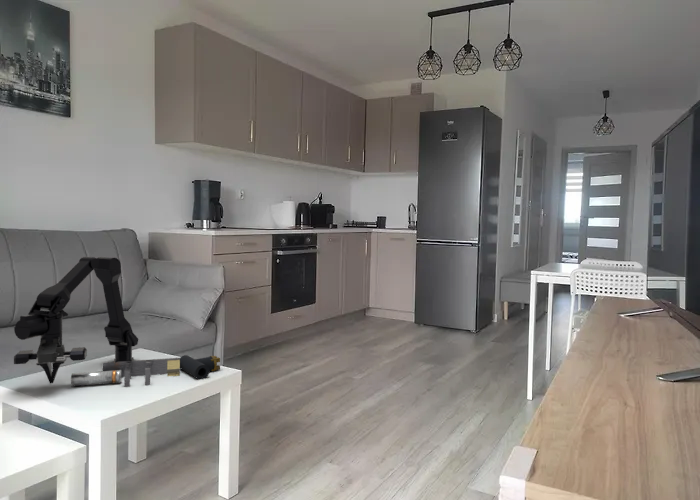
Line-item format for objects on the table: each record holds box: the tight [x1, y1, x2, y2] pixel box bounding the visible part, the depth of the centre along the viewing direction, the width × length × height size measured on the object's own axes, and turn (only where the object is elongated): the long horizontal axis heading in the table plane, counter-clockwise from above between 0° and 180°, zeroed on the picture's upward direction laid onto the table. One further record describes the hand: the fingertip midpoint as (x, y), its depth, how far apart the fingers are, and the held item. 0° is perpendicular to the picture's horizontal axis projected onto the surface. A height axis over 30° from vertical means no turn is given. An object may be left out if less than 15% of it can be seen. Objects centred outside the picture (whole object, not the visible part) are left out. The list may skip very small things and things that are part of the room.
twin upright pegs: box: [123, 361, 152, 388], centre depth 164 cm, size 10×8×5 cm
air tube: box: [70, 370, 123, 388], centre depth 160 cm, size 14×4×4 cm, turn 110°
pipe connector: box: [179, 354, 221, 380], centre depth 176 cm, size 12×5×15 cm
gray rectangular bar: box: [102, 357, 181, 378], centre depth 169 cm, size 4×24×5 cm, turn 110°
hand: (51, 383), depth 156 cm, fingers closed
